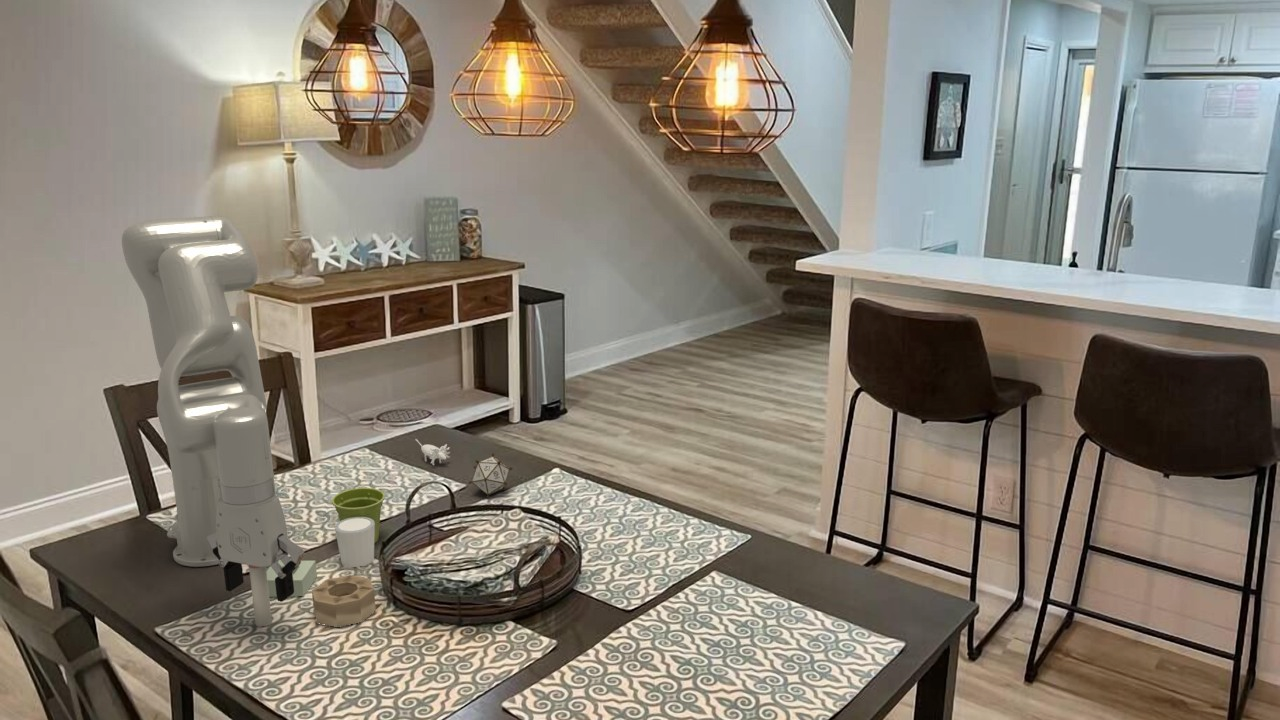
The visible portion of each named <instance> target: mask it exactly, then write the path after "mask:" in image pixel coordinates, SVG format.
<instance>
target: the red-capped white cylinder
mask: <svg viewBox="0 0 1280 720" xmlns="http://www.w3.org/2000/svg"><path fill="white" fill-rule="evenodd" d="M248 571H249V579H250V587H251V589H250V590H251V594H252V595H251V598H252V604H253V612H254V620H255V622H254V623H255V626H256V627H259V628H262V626H264V627H267V626H270V625H271V624H272V623H273V617H272V609H271V600H270V597H269V590H268V581H267V572H266V571H267V567H266V568H262V567H256V566H250V565H248ZM271 622H272V623H271ZM269 624H270V625H269Z"/></svg>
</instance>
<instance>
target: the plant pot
mask: <svg viewBox="0 0 1280 720" xmlns="http://www.w3.org/2000/svg"><path fill="white" fill-rule="evenodd" d="M385 495H386V494H385V492H384V491H383V490H380V489H378V488H373V487H357V488H351V489H346V490H344V491H341V492H339V493H337V494H336V495H334V496H333V497H332V499H331V504H332V505H333V506H334V508H335V511H336V512H337V514H338V519H339V522H340V521H341V520H344V519H347V518H352V517H367V518H371V519H372V520H374V523H375V535H374V544H376V543H377V542H378V540H379V538H380V526H381V525H380V524H381V511H382V506H383V504H384V503H383V502H384V500H385V498H386V496H385Z"/></svg>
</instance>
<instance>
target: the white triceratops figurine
mask: <svg viewBox="0 0 1280 720" xmlns="http://www.w3.org/2000/svg"><path fill="white" fill-rule="evenodd" d="M415 441H416V442H417V443H418V445H420V447H421V448H420V449H421V451H422V453H423V454H424V462H427V461H428V459H427V456H428V458H429V459H430V460H431V462H430V464H432V466H435V465H436V464H435V460H436V459H438V460H439V464H442V460H447V458H450V457H451V456H450V455H449V454H450V453H451V451H449V450H450V447H447V446H448V444H447V443H445V444H444V445H442V446H441V447H438V446H436V445H433V444H423V445H422V443H421V442H419V440H418V438H415Z"/></svg>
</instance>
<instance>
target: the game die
mask: <svg viewBox="0 0 1280 720" xmlns="http://www.w3.org/2000/svg"><path fill="white" fill-rule="evenodd" d="M475 463H476V465H473V469H475V470H474V472H473V476H472V479H471V480H469V481H468V482H467V484H469V485H471V484H473V485H474V486H476V487H477V488H479V490H481V491H482V492H483V493H485V494H486V498H487V499H489V498H490V495H492V494H494V493H496V492H498V491H500V490H502V491H503V492H506V488H505V486H509V484H508V482H507V479H508V476H509V472H510V471H511V470H513V469H514V467H508V466H507V465H505V464H504V463H503V462H502V461H501V460H500V459H497V458H496V456H495V453H494V452H492V453H491V456H490V457H488V458H485V459H482V460H480V461H479V460H478V459H475Z"/></svg>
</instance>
